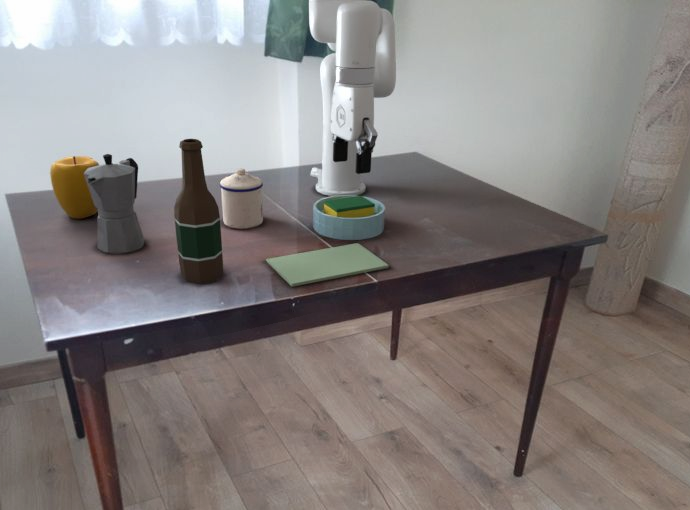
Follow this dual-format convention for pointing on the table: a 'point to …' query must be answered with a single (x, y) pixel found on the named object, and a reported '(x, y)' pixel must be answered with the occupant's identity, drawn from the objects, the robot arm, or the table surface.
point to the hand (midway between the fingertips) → (351, 166)
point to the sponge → (349, 207)
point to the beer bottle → (197, 220)
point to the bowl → (348, 222)
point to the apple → (73, 186)
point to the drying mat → (325, 264)
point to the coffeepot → (115, 205)
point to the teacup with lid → (242, 200)
